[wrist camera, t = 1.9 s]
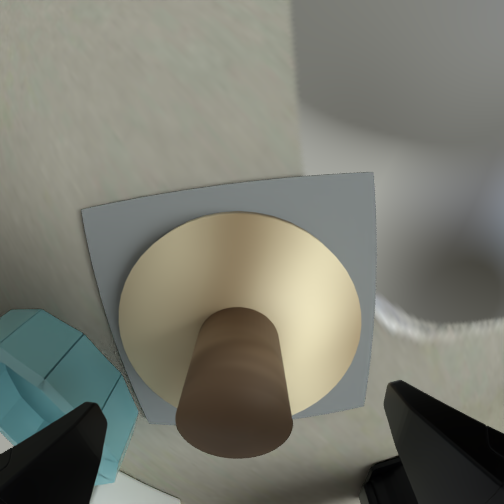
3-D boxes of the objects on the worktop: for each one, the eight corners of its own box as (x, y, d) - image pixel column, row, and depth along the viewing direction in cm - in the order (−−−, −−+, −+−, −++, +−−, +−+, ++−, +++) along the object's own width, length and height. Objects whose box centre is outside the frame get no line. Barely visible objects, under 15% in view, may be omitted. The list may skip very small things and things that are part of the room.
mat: (369, 172, 11) (373, 172, 11) (361, 401, 14) (363, 406, 14) (85, 208, 11) (81, 209, 11) (150, 419, 14) (149, 423, 14)
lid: (351, 198, 11) (431, 223, 6) (348, 396, 13) (379, 478, 8) (103, 230, 11) (16, 272, 6) (160, 413, 14) (135, 493, 8)
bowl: (97, 307, 12) (54, 351, 9) (159, 451, 15) (146, 498, 11) (-20, 309, 13) (-57, 334, 9) (41, 429, 15) (21, 461, 12)
